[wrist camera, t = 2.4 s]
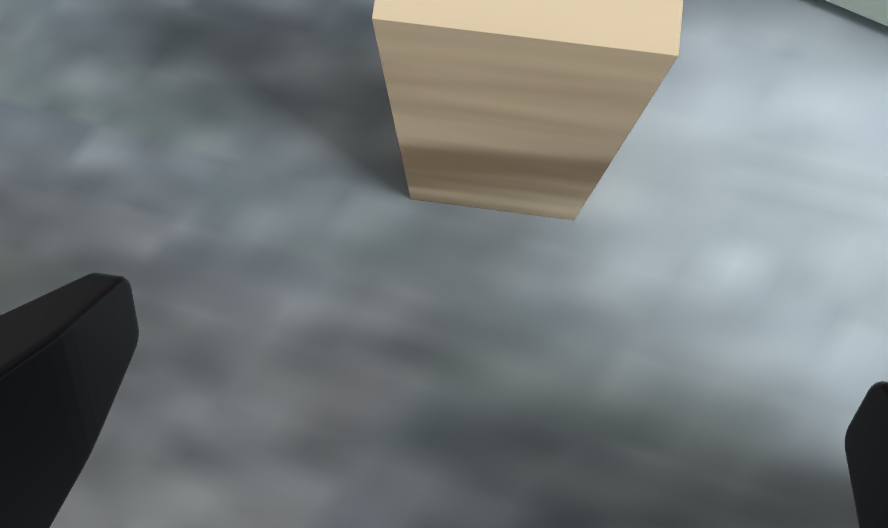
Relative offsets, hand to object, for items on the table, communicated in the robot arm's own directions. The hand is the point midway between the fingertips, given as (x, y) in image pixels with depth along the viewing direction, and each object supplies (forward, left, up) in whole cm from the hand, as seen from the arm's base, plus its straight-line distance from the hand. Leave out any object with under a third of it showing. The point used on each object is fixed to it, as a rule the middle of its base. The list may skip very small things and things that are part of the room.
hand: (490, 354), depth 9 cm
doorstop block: (+7, +2, -13) cm, 15 cm away
